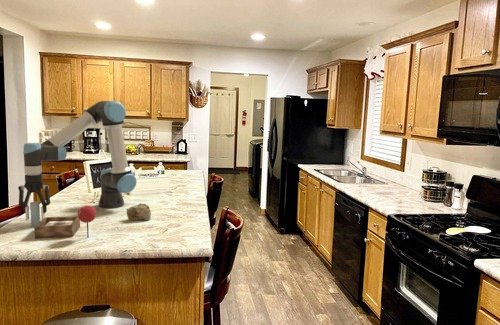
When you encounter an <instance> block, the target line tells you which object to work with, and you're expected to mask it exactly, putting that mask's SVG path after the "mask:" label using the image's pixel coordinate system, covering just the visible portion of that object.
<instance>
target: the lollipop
mask: <svg viewBox="0 0 500 325" xmlns="http://www.w3.org/2000/svg"><path fill="white" fill-rule="evenodd" d="M77 216H78V218H79V220H80V222H82V223H85V224H86V231H87V232H86V235H87V236H86V237H87V239H88V238H90V236H89V223H91V222H93V221H94V220H95V219H96V217H97V210H96V208H94V207H93V206H91V205H83V206H82V207H80V208H79V210H78V212H77Z"/></svg>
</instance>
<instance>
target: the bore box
mask: <svg viewBox="0 0 500 325" xmlns="http://www.w3.org/2000/svg"><path fill="white" fill-rule="evenodd" d="M33 228H34V229H33V230H34V231H33V232H34V239H50V238H51V239H55V238H73V237H74V235H76V234H77V231H78V230H79V229H80V228H81V221H80V220H79V218H78V215H77V216H75V215H73V216H45V218H44V219H43V220H42V219H41V220H40V222H39V223H38V224H37V225H36V226H35V227H33Z"/></svg>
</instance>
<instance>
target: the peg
mask: <svg viewBox="0 0 500 325" xmlns="http://www.w3.org/2000/svg"><path fill="white" fill-rule="evenodd" d="M29 204H30V205H29V211H30V225H31V226H30V227H31V228H34V227H35V226H36V225H37V224H38V223H39V222H40V221H41V214H40V213H41V206H40V201H31V202H29Z"/></svg>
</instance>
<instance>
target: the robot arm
mask: <svg viewBox="0 0 500 325" xmlns="http://www.w3.org/2000/svg"><path fill="white" fill-rule="evenodd" d="M126 110H127V109H126V108H125V106H124V105H123V104H122V103H121V102H120V101H116V100H101V101H100V100H99V101H97V102H96V103H94V104H92V105H91V106H90V107H88V108H87V109H85V110H84V111H83V112H82V114H81V115H80V116H79V117H77V118H76V119H74V120H73V121H72V122H70V123H68V125H66V126H65V127H63V128H62V129H61V130H59V131H57V132H56V133H55V134H54V135H52V136H51V137H49V138H48V139H47V140H45V141H44V142H41V143H40V142H26V143H24V144H23V148H22V149H23V151H22V152H23V161H24V162H23V164H24V165H23V167H24V170H23V171H24V185H18V189H17V190H18V191H19V192H18V206H19V207H22V211H23V214H25V220H26V221H28V220H30V205H28V203H29V201H30V198H31V194H32V193H33V194H34V193H36V195H37V196H38V199H39V202H40V203H41V206H40V213H41V214H40V219H41V221H42V220H43V219H44V218H45V217H46V215H45V214H46V213H47V211H48V209H47V206H49V205H50V204H51V196H50V185H49V184H47V185H46V184H44V183H43V174H42V173H43V169H42V168H43V167H42V166H43V165H42V164H43V162H52V161H53V162H55V161H57V162H58V161H64V160H66V159H67V156H68V155H67V154H68V152H67V151H68V150H67V148H66V147H65V145H67V144H68V143H69V142H71V141H73V139H75V138H76V137H77V136H79V135H80V134H82V133H83V132H84V131H86V130H87V129H89V128H90V127H92V126H96V125H97V124H99V123H102V127H104V128H105V129H106V135H107V141H108V148H109V153H110V158H111V165H112V168H110V169H109V168H108V169H107V168H106V169H102V170H100V192H101V193H100V197H99V200H98V207H99V208H102V209H115V208H116V209H117V208H120V207H121V208H122V207H123V206H125V200H124V197H123V195H122V194H124V193H125V194H128V193H131V192H132V191H134V190H135V188H136V186H137V177H136V176H135V175H134V174H133V172H132V168H131V167H129V165H128V158H127V157H128V156H127V152H126V146H125V138H124V133H123V132H124V131H123V126H124V124H125V122H124V120H125V118H126V116H127V111H126ZM42 188H43V191H44V195H43V191H42ZM25 189H26V195H25V198H24V193H25Z"/></svg>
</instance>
